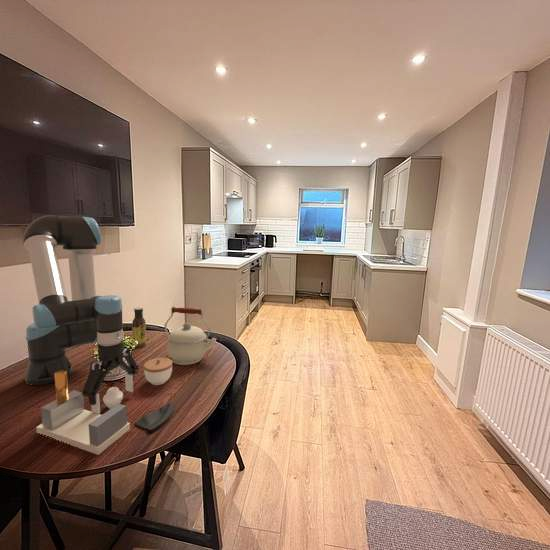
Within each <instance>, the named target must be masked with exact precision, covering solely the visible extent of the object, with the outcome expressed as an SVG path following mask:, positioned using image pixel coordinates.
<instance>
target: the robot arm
mask: <svg viewBox="0 0 550 550" xmlns="http://www.w3.org/2000/svg"><path fill="white" fill-rule="evenodd" d="M22 239H23V240H22V241H23V246H24V249H25V250H26V251H27V252H28V253H29V258H30V264H31V270H32V274H33V281H34V285H35V290H36V295H37V300H38V301H37V302H38V304H36V305H33V306H32V318H33V319H32V320H33V322H32V323H31V324H29V325H28V326H27V328H26V329H25V331H26V337H25V339H26V342H27V353H28V355H27V356H28V364H27V368H26V371H25V375H24V381H25V382H26V383H28V384H32V385H31V386H33V385H39V386H42V385H41V384H46V385H49V384H48V383H51V384H54V383H53V382H55V376H54V373H55V372H57V371H61V370H66V371H67V378H69V376H71V374H72V373H73V366H72V363H71V362H70V360H69V358H68V356H67V354H66V353H67V351H66V349H69V348H75V347H78V346H83V345H89V344H94V343H97V354H98V356H99V360H98V362H91V363H90V366H89V372H88V375H87V377H86V381H85V383H84V384H85V385H84V387H83V390H82V391H81V392H82V395H83V397H88V403H89V405H90V406H91V412H93V413H97V414H101V404H100V402H101V401H100V393H98V392H99V390H100V388H101V386H102V384H103V383H104V380H105V378H106V376H107V375H108V374H109V373H110V372H111V371H113V370H114V369H117V368H118V367H120V368H121V369H122V370H124V371H125V372H126V373H124V378H125V379H124V383H125V392H130V393H133V392H134V379H135V377H134V376H135V375H136V373H137V370H138V369H139V366H138V365H137V362H136V361H135V359H134V358H133V355H132V353H131V349H129V348H125V347H124V346H125V344H124V329H123V328H124V327H123V323H124V321H123V304H122V299H121V297H120V296H119V295H114V294H111V295H110V294H107V295H97V294H96V293H97V292H96V281H95V265H94V253H95V251H97V246H100V245H101V244H102V243H101V242H102V234H101V230H100V227H99V225H98V223H97V221H96V220H95V219H94V218H93V217H90V216H89V217H88V216H82V215H81V216H78V215H75V216H74V215H55V214H52V215H50V214H48V215H44V216H39V217H38V218H36V219H35V220H33V221H32V222H31V223H30V224H28V226H27V228H25V231H24V233H23V238H22ZM58 246H62V250H63V251H64V252H65V253H67V255H68V256H67V257H68V267H69V269H68V271H69V281H70V291H71V293H70V295H71V300H68V296H67V292H66V288H65V284H64V283H65V282H64V280H63V275H62V272H61V268H60V263H59V259H58V255H57V251H56V249H57V247H58ZM123 358H124V359H125V361H124V360H123ZM26 383H25V384H26ZM28 384H27V385H28Z"/></svg>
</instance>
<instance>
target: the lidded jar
mask: <svg viewBox="0 0 550 550" xmlns="http://www.w3.org/2000/svg"><path fill="white" fill-rule="evenodd" d="M173 363H174V362H173V361H172V358H168V357H155V358H152V359H149V360H147V361H145V363H143V371H144V372H143V374H144V376H145V379H146V380H147V382H149V383H150V384H151V385H153V386H160V385H164V384H165V383H166V382H167V381H168V380H169V379H170V377H171V376H172V373H173Z"/></svg>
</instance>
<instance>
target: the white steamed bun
mask: <svg viewBox="0 0 550 550" xmlns="http://www.w3.org/2000/svg"><path fill="white" fill-rule="evenodd" d="M123 398H124V393H123V392H122V391H121V390H120V389H119V387H117V386H112V387H109V388H108V389H107V391H106V393H105V394H104V396H103V397H102V400H103V404H104V405H105V406H106V407H107V408H108V410H110V409H112V408H113V407H115V406H116V405H117V404H121V402H122V400H123Z"/></svg>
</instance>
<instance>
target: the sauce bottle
mask: <svg viewBox="0 0 550 550" xmlns="http://www.w3.org/2000/svg"><path fill="white" fill-rule="evenodd" d="M133 310H134V318H133V319H132V325H131V328H132V330H131V331H132V338H133V337H134V338H135V339H136V340H137V341H138V345H137V347H136V348H142V347H144V346H145V347H146V345H147V344H146V343H147V334H146V333H147V330H146V329H147V328H146V327H147V323H146V319H145V318H144V315H143V314H144V313H143V311H144V308H143V307H136V308H134V309H133Z"/></svg>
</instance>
